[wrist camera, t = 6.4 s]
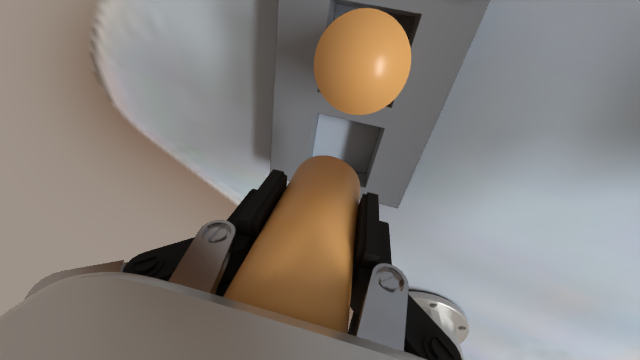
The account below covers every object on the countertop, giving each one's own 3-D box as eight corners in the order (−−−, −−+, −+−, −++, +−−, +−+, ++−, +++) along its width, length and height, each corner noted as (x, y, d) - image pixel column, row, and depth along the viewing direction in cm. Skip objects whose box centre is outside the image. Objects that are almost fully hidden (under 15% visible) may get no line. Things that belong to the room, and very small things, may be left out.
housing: (395, 192, 23) (399, 218, 19) (279, 164, 24) (263, 183, 20) (585, -262, 10) (691, -415, 6) (311, -281, 11) (284, -421, 8)
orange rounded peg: (368, 165, 12) (360, 361, 5) (351, 219, 15) (327, 411, 7) (297, 148, 13) (187, 308, 5) (290, 203, 15) (206, 373, 7)
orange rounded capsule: (383, 88, 18) (393, 122, 11) (334, 79, 18) (308, 106, 11) (400, 27, 16) (427, 16, 8) (343, 18, 16) (320, 0, 9)
